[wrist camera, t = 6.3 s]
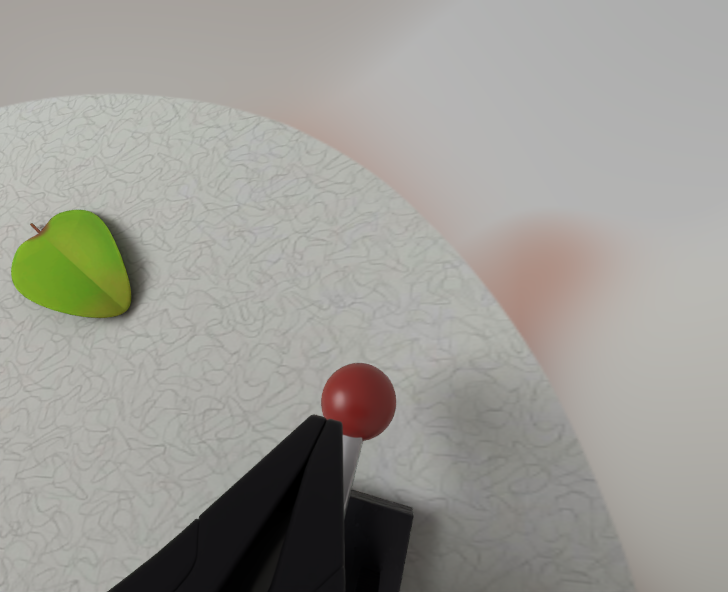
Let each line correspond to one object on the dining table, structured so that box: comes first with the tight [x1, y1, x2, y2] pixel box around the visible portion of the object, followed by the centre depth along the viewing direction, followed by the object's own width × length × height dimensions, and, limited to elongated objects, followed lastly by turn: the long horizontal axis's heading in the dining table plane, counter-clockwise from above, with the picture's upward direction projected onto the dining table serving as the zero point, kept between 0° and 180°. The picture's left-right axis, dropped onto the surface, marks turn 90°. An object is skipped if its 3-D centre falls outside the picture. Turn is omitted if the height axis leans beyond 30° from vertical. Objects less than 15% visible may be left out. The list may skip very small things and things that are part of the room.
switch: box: [321, 363, 396, 519], centre depth 13 cm, size 13×3×3 cm, turn 166°
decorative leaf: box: [11, 210, 131, 318], centre depth 23 cm, size 8×9×1 cm
